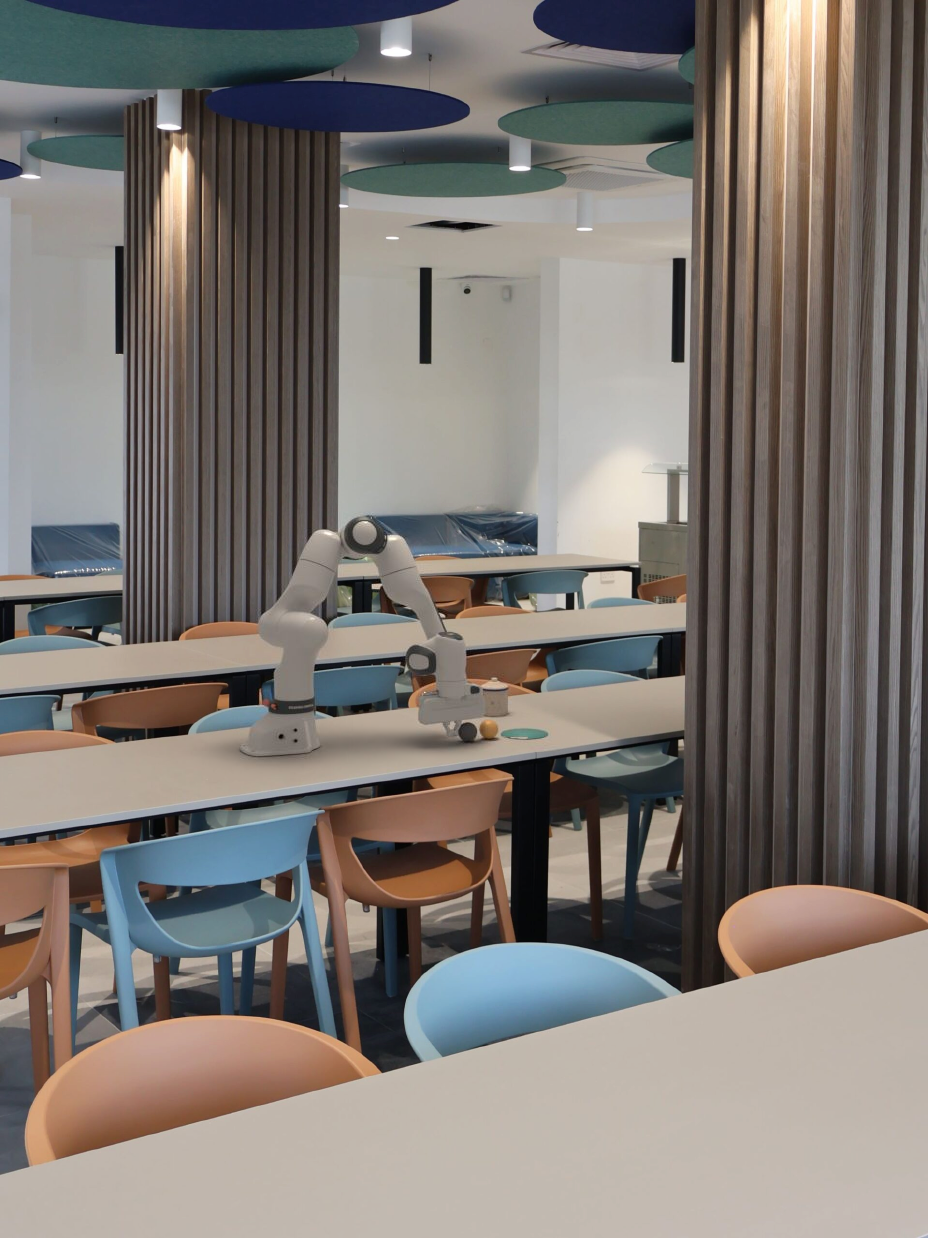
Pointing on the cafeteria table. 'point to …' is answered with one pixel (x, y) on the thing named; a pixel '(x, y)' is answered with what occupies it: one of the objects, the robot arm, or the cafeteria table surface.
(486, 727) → the object ball
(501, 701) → the teacup with lid
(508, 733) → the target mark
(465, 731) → the dark grey ball
